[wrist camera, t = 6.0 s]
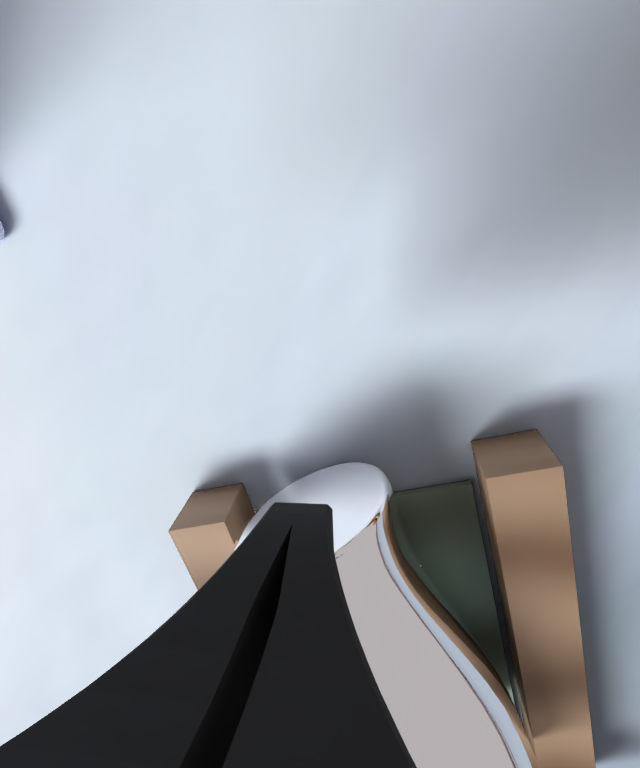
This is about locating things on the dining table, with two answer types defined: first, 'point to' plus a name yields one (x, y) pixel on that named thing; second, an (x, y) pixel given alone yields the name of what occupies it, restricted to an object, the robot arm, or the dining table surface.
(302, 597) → the robot arm
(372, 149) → the dining table surface
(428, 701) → the beer glass
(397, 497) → the cradle
